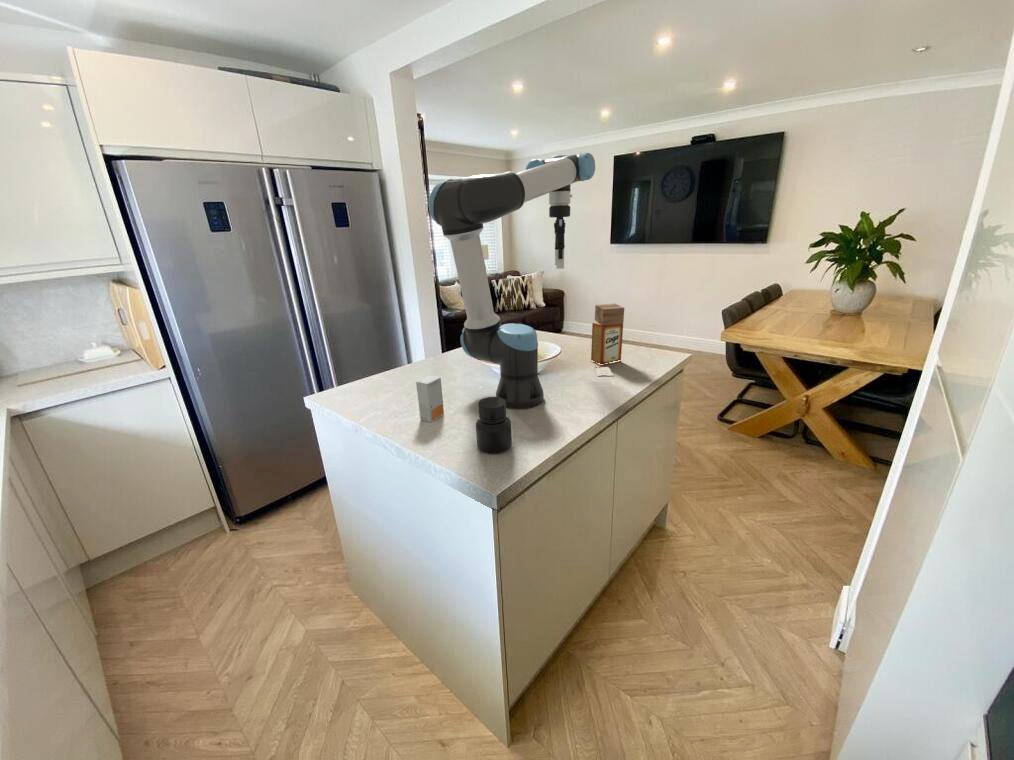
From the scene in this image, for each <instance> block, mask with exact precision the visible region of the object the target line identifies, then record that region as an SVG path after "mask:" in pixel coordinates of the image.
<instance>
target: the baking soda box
mask: <svg viewBox="0 0 1014 760" xmlns="http://www.w3.org/2000/svg"><path fill="white" fill-rule="evenodd" d="M623 331H624V323H623V324H614V325H601V324H600V323H598V322H597V321H595V322H592V327H591V353H590V354H591V356H590V361H591V360H593V361H595V362H597V363H600V364H605V363H609V362H613V361H618V360H621V361H622V348H623Z"/></svg>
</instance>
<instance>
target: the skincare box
mask: <svg viewBox="0 0 1014 760" xmlns="http://www.w3.org/2000/svg"><path fill="white" fill-rule="evenodd" d="M415 383H416V391H417V401H418V410H419V417H420V418H419V419H420V420H421V421H424V422H427V423H432V422H434V421H435V420H436V421H437V420H438V419H439V418H441V417H442V416H444V415H445V410H444V400H443V399H444V398H443V390H442V389H443V387H442V379H441V377H439V376H436V375H435V376H434V375H428V376H426V377H424V378H421V379H420V380H417V381H416V382H415Z"/></svg>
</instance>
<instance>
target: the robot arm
mask: <svg viewBox="0 0 1014 760" xmlns="http://www.w3.org/2000/svg"><path fill="white" fill-rule="evenodd" d="M595 161H596V160H595V157H594V155H593V154H591V153H590V152H580V153H576V154H571V155H564V154H562V155H561V154H558V155H554V156H553V155H552V156H551V157H550V158H548V159H541V158H536V159H535V158H534V159H531V160H530V161H529V162H528V163H527V165H526V168H525V170H523V171H519V172H517V173H516V172H514V171H506V172H505V171H504V172H502V173H493V174H492V173H491V174H477V175H476V174H475V175H471V176H470V175H469V176H465V177H458V178H449V179H446V180H443V181H440V182H438V183H437V184H436V185H435V186H434V187H433V188H432V191H431V192H430V194H429V197H428V211H429V214H430V217H431V218H432V221H434V222H435V223H436V224H437V225H438V226H440V227H441V231H442V234H443V237H444V238H447V240H449V241H450V246H451V251H452V254H453V259H454V263H455V268H456V269H455V270H456V273H457V278H458V282H459V286H460V290H461V291H460V292H461V295H462V300H463V303H464V309H465V313H466V320H465V321H464V323H463V328H462V330H461V333H462V334H460V345H461V347H462V350H463V351H464V353H465V354H466V355H467V356H469V357H471V358H473V359H475V360H478V361H484V362H488V363H492V364H496V365H499V368H500V369H499V370H500V371H499V372H500V377H499V382H498V386H497V389H496V392H495V397H500V398H503V399H504V400H506V409H507V408H508V409H515V410H516V409H518V410H519V409H523V410H524V409H530V408H533V407H537V406H539V405H541V404H542V403H543V401H544V398H545V397H544V395H545V393H544V390H543V387H542V384H541V381H540V377H539V372H538V369H539V365H538V361H539V356H538V354H539V349H538V347H539V341H538V334H537V331H536V330H535V329H534V328H533V327H531V326H529V325H526V324H523V323H513V322H512V323H511V322H510V323H504V324H502V323H501V317H500V315H498V314H497V313H495V312H494V311H495V310H494V305H493V300H492V295H491V290H490V285H489V279H488V274H487V269H486V262H485V257H484V252H483V247H482V242H481V236H480V235H481V232H482V231H483V229H484V224H487V223H490V222H493V221H496V220H498V219H500V218H503V217H504V216H507V215H510V214H511V213H514V212H516V211H518V210H520V209H522V207H523V206H524V205H525V203H528V202H529V201H532V200H534V199H537V198H540V197H542V196H545V195H547V194H548V204H549V208H548V210H549V212H548V215H549V218H555V219H556V220H555V221H554V223H553V228H554V234H555V236H554V240H555V241H554V265H555V266H556V267H555V268H556V269H558V270H561V269H565V246H566V245H565V233H566V221H565V219H564V218H568V217H570V216H571V206H570V205H569V204H570V203H571V198H573V194H571V190H572V189H571V185H573V184H575V183H577V182H584V181H589V180H591V179H592V178H593V177H594V175H595V172H596V162H595Z"/></svg>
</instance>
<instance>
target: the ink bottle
mask: <svg viewBox="0 0 1014 760" xmlns="http://www.w3.org/2000/svg"><path fill="white" fill-rule="evenodd" d="M477 407H478V416H479V417H478V419H477V420H476V422H475V436H476V447H477V449H478V451H479V452H482V453H485V454H490V455H493V454H494V455H495V454H503V453H505V452H508V450H510V448H512V444H513V436H512V435H513V434H512V421H511V419H510V418H509V417H508V416H507V407H506V400H504V399H503V398H500V397H496V396H488V397H484V398H482V399H480V400H479V401H478V404H477Z"/></svg>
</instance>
